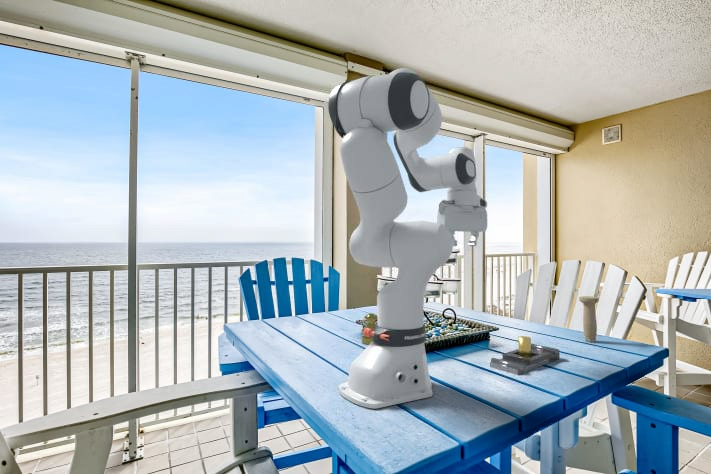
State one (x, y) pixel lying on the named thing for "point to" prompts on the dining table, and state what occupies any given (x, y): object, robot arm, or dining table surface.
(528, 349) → the brass pin
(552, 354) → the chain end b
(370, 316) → the olive green upright figure
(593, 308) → the handle
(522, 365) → the gray stepped fixture plate
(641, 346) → the dining table surface
